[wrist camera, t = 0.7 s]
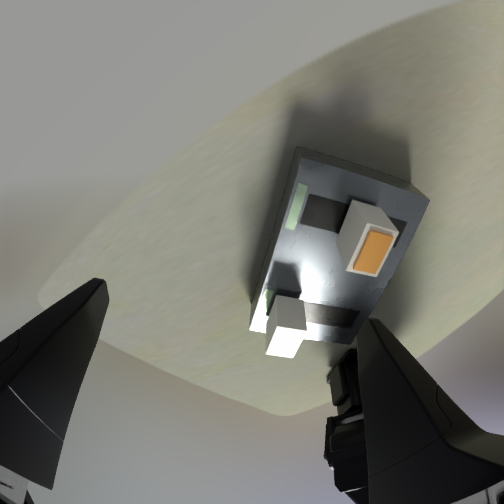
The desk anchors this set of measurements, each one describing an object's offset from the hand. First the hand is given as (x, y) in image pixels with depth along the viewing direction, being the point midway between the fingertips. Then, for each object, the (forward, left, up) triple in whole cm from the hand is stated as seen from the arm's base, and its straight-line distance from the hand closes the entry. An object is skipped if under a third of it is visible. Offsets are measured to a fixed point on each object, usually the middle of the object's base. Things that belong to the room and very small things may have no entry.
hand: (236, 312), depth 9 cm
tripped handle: (-7, 0, -9) cm, 11 cm away
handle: (-4, +8, -9) cm, 12 cm away
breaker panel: (-7, +4, -12) cm, 14 cm away
